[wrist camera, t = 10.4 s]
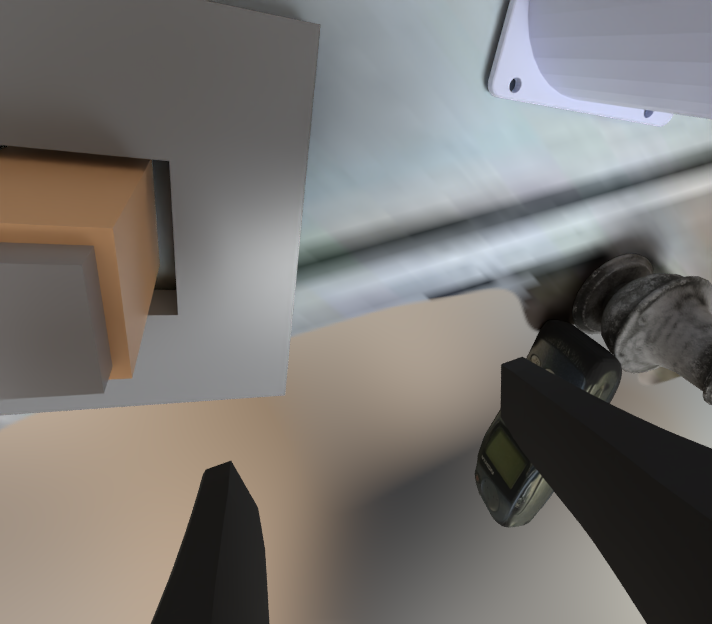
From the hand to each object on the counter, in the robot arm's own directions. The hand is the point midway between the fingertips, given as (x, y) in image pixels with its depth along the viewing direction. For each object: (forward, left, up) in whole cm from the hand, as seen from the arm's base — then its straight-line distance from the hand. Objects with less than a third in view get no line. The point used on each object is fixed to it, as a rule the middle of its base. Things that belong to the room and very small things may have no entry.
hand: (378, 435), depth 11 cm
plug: (+8, -2, -9) cm, 13 cm away
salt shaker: (-18, +1, -10) cm, 21 cm away
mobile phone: (-15, +10, -10) cm, 20 cm away
